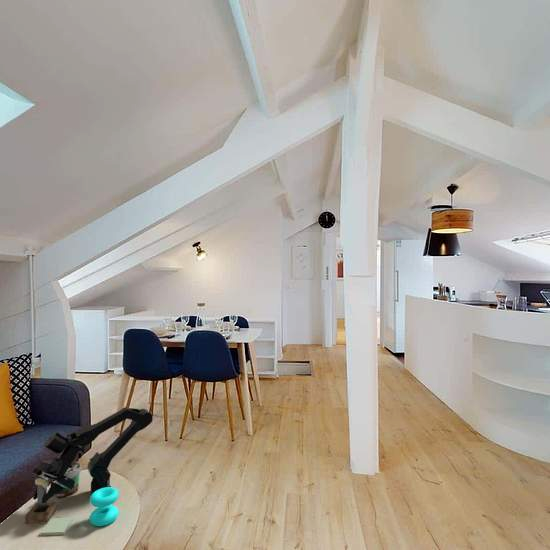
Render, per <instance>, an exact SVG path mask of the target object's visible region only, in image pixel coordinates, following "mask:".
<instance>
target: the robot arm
mask: <svg viewBox="0 0 550 550" xmlns="http://www.w3.org/2000/svg"><path fill="white" fill-rule="evenodd" d="M153 418H154V416H153V414H152V413H151V412H150V411H149V410H148V409H146V408H139V409H138V408H135V407H134V408H133V407H132V408H131V407H128V406H125V407H123V408H122V409H119V411H116V412H114V413H113V414H111V415H109V416H107V417H105V418H104V419H102V420H100V421H98V422H97V423H95V424H90V425H86V426H84V427H80V428H78V429H77V430H76V431H75V432H72V433H69V434H67V435H64V434H63V433H61V432H60V431H58V430H56V432H54V433H52V434H51V435H49V437H48V438H47V439H46V440H45V442H44V444H43V448H45V449H46V450H49V451H50V452H52V453H54V454H56V455H57V454H60V455H59V456H58V457H55V458H53V460H40V462H39V465H38V466H36V467H35V468H34V469H33V470H32V473H33V474H34V475H36V479H38V478H41V479H44V480H46V481H49V480H51V481H49V489H47V493H46V495H45V497H44V499H43V500H42V503H45V502H48V501H49V500H50V499H52V498H53V497H54V496H57V493H59V492H60V491H62V490H63V489H64V490H65V489H66V488H65V486H66V487H67V488H69V489H72V488H73V487H74V485H75V481H74V480H72V479H70V478H69V477H67V476H64V475H65V473H66V472H67V470H68V469H69V468H72V467H73V463H74V462H75V459H77V456H78V455H79V454H85V453H86V451H85V450H86V449H85V447H87V446H89V444H91V443H93V442H94V441H95V440H96V439H97V438H98V437H99V436H100V435H102V433H104V432H106V431H108V430H109V429H111V428H114V427H115V426H117V425H118V424H120V423H122V422H124V421H126V420H131V422H130V424H129V425H128V426H127V427H126V428H125V429H124V430H123V431H122V432H121V433H120V434H119V436H118V437H117V438H116V439H114V441H113V442H111V444H110V445H109V446H108V447H107V448H106V449H105V450H104V451H103V452H101V453H99V452H98V451H97V452H95V453H94V455H93V456H92V457H91V458H89V462H88V463H87V470H88V473H89V475H90V476H91V478H92V479H91V482H90V494H89V495H90V497H91V495H92V494H93V493H94V492H95V491H97V490H99V489H101V488H105V487H112V485H111V476H112V475H111V472H110V471H109V469H108V468H109V466H110V465H111V462H112V460H113V459H114V458H115V457H116V455H118V454H119V453H120V451H122V449H123V448H124V447H125V446H126V445H127V444H128V443H129V442H130V441H131V439H132V438H134V436H136V434H137V433H139V432H140V431H143V430H145V429H146V428H147V427H149V425H151V424H152V422H153ZM56 476H57V477H56ZM37 487H38V485H36V487H35V491H34V494H33V496H32V499H33V500H34V501H35V500H37Z"/></svg>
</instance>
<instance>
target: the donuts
mask: <svg viewBox="0 0 550 550" xmlns="http://www.w3.org/2000/svg"><path fill="white" fill-rule="evenodd" d="M119 495H120V493H119V490H118V489H117V488H116V487H112V486H111V487H105V488H101V489H99V490H97V491H95V492H94V493H93V494H92V495H91V496H90V497H89V502H90V504H91V506H93V507H94V508H95V509H94V510H93V511H92V512H91V513H90V515H89V522H90V524H91V525H93V526H95V527H103V526H107V525H110V524H112V523H113V522H114V521H116V519H117V518H118V516H119V508H118V507H117V506H115V505H113V504H114V503H115V502H116V501H117V500H118V498H119Z"/></svg>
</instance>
